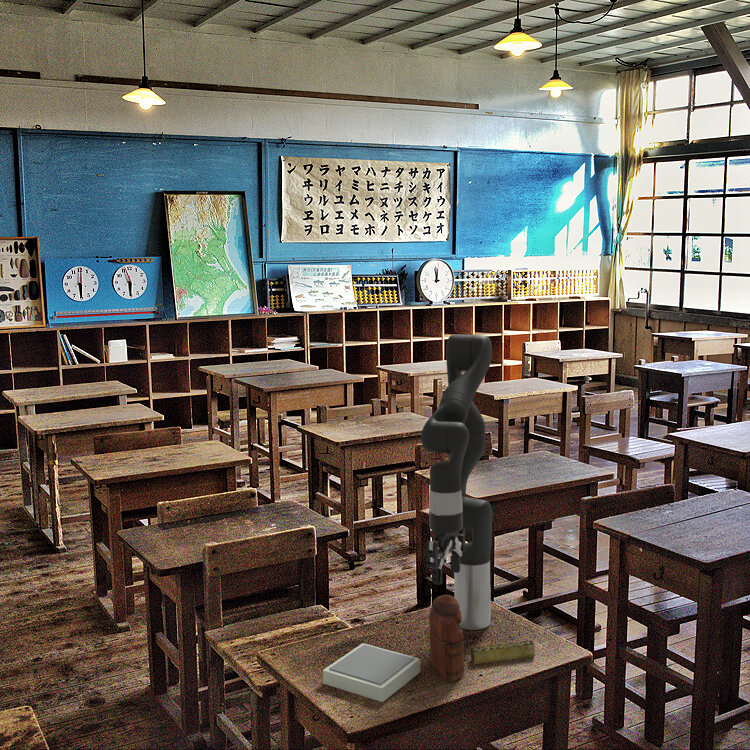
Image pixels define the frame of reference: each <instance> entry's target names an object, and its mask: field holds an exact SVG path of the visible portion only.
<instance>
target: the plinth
mask: <svg viewBox="0 0 750 750" xmlns="http://www.w3.org/2000/svg"><path fill="white" fill-rule="evenodd" d="M420 673H421V659H420V658H418V657H415V656H411V655H408V654H404V653H401V652H396V651H393V650H389V649H386V648H382V647H378V646H374V645H371V644H367V643H364V642H363V643H361V644H359V645H357V647H355V648H353V649H352V650H351V651H349V652H348V653H346V654H345V655H343V656H342V657H340V658H339V659H337V660H336V661H335V662H333V663H331V664H330V665H329V666H327V667H326V668H324V669H323V670H322V680H323V681H322V682H323V683H322V684H323V685H326V686H330V687H333V688H336V689H339V690H343V691H345V692H348V693H352V694H356V695H359V696H362V697H365V698H368V699H370V700H374V701H378V702H381V703H383V702H385V701H386V700H387V699H389V698H390V697H391V696H392V695H394V694H395V693H396V692H397V691H399V690H400V689H401V688H402V687H403V686H405V685H406V684H407V683H408V682H410V681H411V680H412V679H414V678H415V677H416V676H418V674H420Z"/></svg>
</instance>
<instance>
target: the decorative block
mask: <svg viewBox="0 0 750 750" xmlns="http://www.w3.org/2000/svg"><path fill="white" fill-rule="evenodd" d="M532 657H533V658H534V657H535V643H534V642H533V641H532V640H523V641H522V640H521V641H516V642H515V641H514V642H507V643H500V644H490V645H482V646H477V647H476V646H475V647H470V660H471V662H472V664H473V665H479V664H486V663H494V662H500V661H501V662H502V661H509V660H510V661H511V660H517V659H518V660H519V659H526V658H532Z"/></svg>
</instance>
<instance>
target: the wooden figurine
mask: <svg viewBox="0 0 750 750" xmlns="http://www.w3.org/2000/svg"><path fill="white" fill-rule="evenodd" d="M429 610H430V611H429V618H428V619H429V620H428V623H429V644H430V645H429V647H430V657H431V666H432V667H433V669H435V671H437V673H438V674H439V675H440V676H441V677H442V678H443V679H445V681H446V682H456V681H457V680H460V679H461V678H462V677H463V676H464V673H465V656H464V655H465V653H464V652H465V651H464V633H463V632H464V631H463V628H460V624H459V623H461V620H462V617H461V611H460V606H459V602H458V601H457V600H456V599H455V596H452V595H451V594H442V595H438V596H437V597H436V598H435V599H433V601H432V605H431V608H430V609H429Z"/></svg>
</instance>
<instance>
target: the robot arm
mask: <svg viewBox="0 0 750 750" xmlns="http://www.w3.org/2000/svg"><path fill="white" fill-rule="evenodd" d="M445 347H446V348H445V349H446V350H445V358H446V359H445V360H446V374H447V385H448V386H447V387H446V388H445V390H444V391H443V393H442V396H441V399H440V401H439V404H438V407H437V409H436V410H435V411H434V412H433V413H432V415H431V416H430V417H429V419H427V421H426V422H425V424H424V425H423V428H422V430H421V434H420V442H421V445H422V447H423V448H424V450H425V451H427V452H430V453H437V454H439V453H441V454H449V455H448V457H449V458H448V459H449V460H445V461H439V462H434V463H433V464H432V465H431V466H430V468H429V495H428V496H429V497H428V498H429V499H428V510H429V511H428V514H429V515H428V518H429V519H428V521H429V523H428V524H429V529H430V531H432V533H434V536H433V540H426V543H425V545H426V546H425V551H426V552H425V567H426V568H430V569H431V581H432V584H433V585H438V586H441V584H443V568H442V567H443V564H444V562H445V561H446V560H447V558H448V555H449V554H450V562H449V563H450V572H451V573H453V576H454V579H453V580H454V581H453V582H454V583H453V585H454V586H453V587H454V598H455V599H456V600H457V601H458V602H459V606H460V611H461V617H462V620H461V623H459V624H460V629H462V630H463V629H464V630H468V631H474V630H475V631H476V630H483V629H486V628H488V627H489V626H490V625H491V619H492V617H491V615H492V614H491V612H492V611H491V609H492V605H491V602H492V601H491V600H492V599H491V595H492V594H491V591H492V588H491V587H492V586H491V560H490V559H491V549H492V540H493V539H492V536H493V534H492V532H493V509H492V505H491V503H490V502H489V501H488V500H485V499H479V498H472V497H467V484H468V480H469V477H470V476H471V474H472V471H474V468H475V467H476V466H477V464H478V463H479V461H480V459H481V458H482V456H483V454H484V451H485V449H486V423H485V420H484V418H483V416H482V414H481V412H480V410H479V409H478V407H477V405H475V403H474V401H473V399H474V397H475V395H476V393H477V391H478V389H479V387H480V386H481V384H482V382H483V380H484V378H485V376H486V374H487V373H488V371H489V369H490V365H491V363H492V358H493V348H492V341H491V339H490V337H489V336H487V335H484V334H451V335H450V336H449V337H448V338H447V342H446V345H445ZM463 372H464V373H463ZM466 535H469V536H470V535H471V536H472V539H471V542H466Z"/></svg>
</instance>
